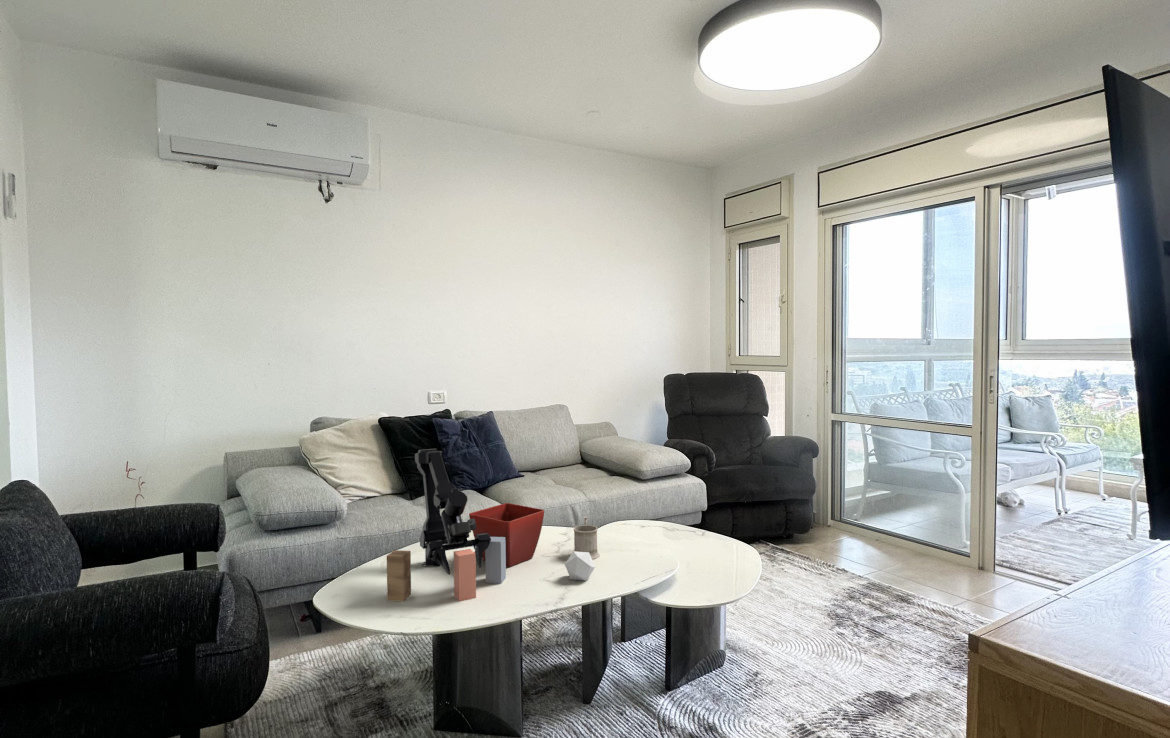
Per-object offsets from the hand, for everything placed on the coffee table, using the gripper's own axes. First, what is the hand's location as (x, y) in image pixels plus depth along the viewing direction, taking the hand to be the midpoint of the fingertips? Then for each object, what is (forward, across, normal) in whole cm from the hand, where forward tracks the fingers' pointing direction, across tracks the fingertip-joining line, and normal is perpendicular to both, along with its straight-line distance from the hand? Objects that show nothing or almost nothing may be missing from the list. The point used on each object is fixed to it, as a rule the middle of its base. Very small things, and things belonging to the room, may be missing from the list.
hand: (465, 571), depth 176 cm
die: (+8, +36, +3) cm, 37 cm away
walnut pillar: (-2, -17, +12) cm, 21 cm away
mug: (-7, +50, +18) cm, 53 cm away
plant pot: (-13, +23, +23) cm, 35 cm away
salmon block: (+5, 0, +6) cm, 8 cm away
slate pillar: (-1, +12, +11) cm, 17 cm away
